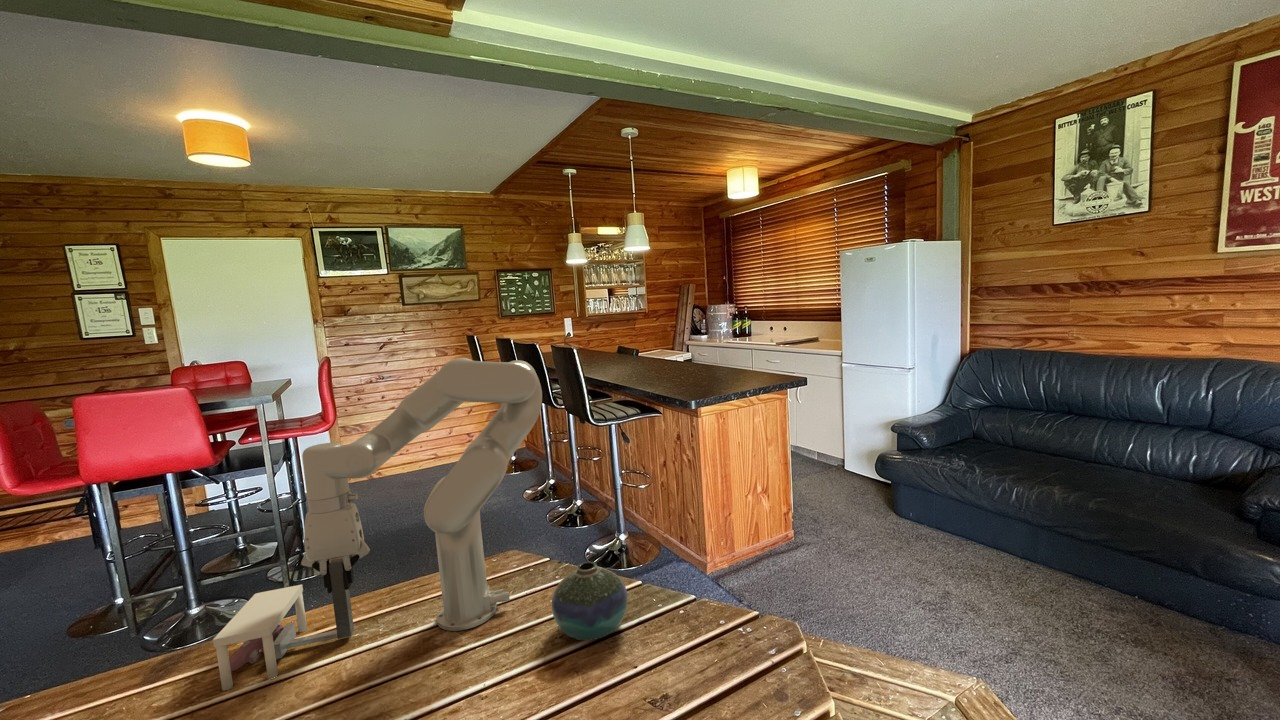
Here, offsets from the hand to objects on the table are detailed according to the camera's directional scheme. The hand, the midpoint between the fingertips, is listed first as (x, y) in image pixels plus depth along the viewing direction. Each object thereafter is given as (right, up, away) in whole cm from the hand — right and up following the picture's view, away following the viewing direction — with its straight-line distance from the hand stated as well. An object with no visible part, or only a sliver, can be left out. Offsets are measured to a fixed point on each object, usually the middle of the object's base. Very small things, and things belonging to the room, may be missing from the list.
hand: (340, 587), depth 109 cm
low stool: (-13, -13, -3) cm, 18 cm away
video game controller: (-15, -13, -3) cm, 20 cm away
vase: (+54, -7, -3) cm, 54 cm away
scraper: (-4, -11, -1) cm, 12 cm away
